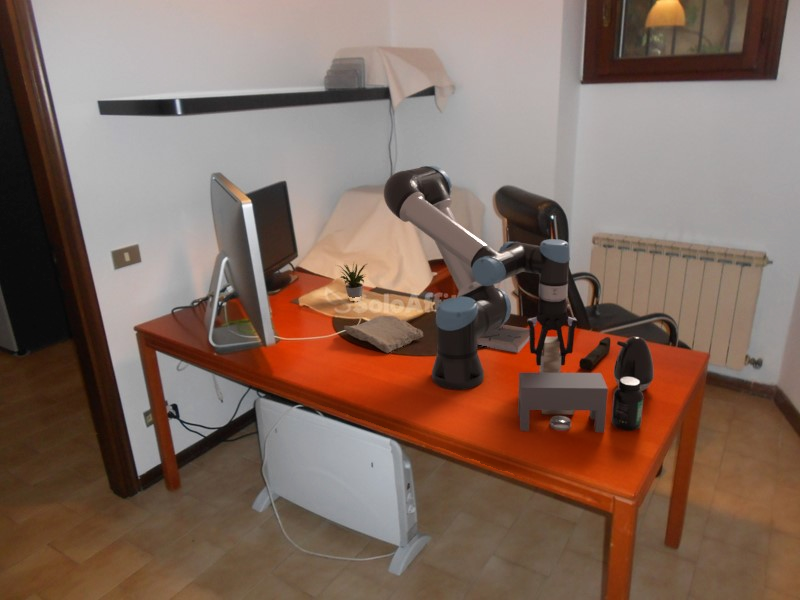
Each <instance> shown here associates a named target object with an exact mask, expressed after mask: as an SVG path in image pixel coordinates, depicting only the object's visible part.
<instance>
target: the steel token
mask: <svg viewBox="0 0 800 600" xmlns="http://www.w3.org/2000/svg"><path fill="white" fill-rule="evenodd" d="M549 426H550V427H551V428H552V429H554V430H556V431H559V432H561V431H562V432H563V431H569V430H570V428H571V427H572V420H571V419H570V418H569V417H567V416H566V415H565V416H564V415H554V416H552V417H550V420H549Z"/></svg>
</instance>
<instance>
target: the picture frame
mask: <svg viewBox="0 0 800 600" xmlns="http://www.w3.org/2000/svg"><path fill="white" fill-rule="evenodd" d="M529 342H530V335H529V328H527V327H520V326H516V325H515V326H514V325H509V324H503V325H501V326H500V327H499V328H497V329H495V330H492V331H490V332H489V333H487V334H485V335H483V336H481V337H479V338H478V339H477V344H478V345H482V346H481V347H483V346H487V347H486V348H489V347H490V348H491V349H494V348H495V350H501V351H506V352H512V353H517V354H519V352H520V351H521V350H522V349H523V348H524V347H525V346H526V345H527V343H529ZM478 345H477V346H478Z"/></svg>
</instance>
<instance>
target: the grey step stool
mask: <svg viewBox="0 0 800 600" xmlns="http://www.w3.org/2000/svg"><path fill="white" fill-rule="evenodd" d="M608 391H609V389H608V386H607V383H606V381H605V379H604V377H603V375H602V373H601V372H561V373H539V372H520V371H519V372H518V401H517V402H518V405H517V406H518V407H517V408H518V409H517V412H518V413H517V414H518V419H519V429H520V431H521V432H529V431H530V411H536V410H538V411H541V410H574V411H589V416H590V420H594V426H593V428H594V431H595V433H605V427H606V415H607V402H608Z"/></svg>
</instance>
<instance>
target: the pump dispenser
mask: <svg viewBox="0 0 800 600" xmlns="http://www.w3.org/2000/svg"><path fill="white" fill-rule="evenodd" d="M616 344H617V346H620V347H621V348H620V350H619V352H618V354H617V356H616V360H615V364H614V369H613V376H614V378H615V383H616V384H617V385H618V384H619V380H620V378H622V377H634V378H637V379H638V380H640V391H641V392H644V391H645V390H647V389H648V387H650V385H651V383H652V381H653V380H654V371H655V370H654V362H653V357H652V353H651V349H650V347H649V345H648V343H647V341H646V340H645V339H644V338H643V337H641V336H638V335H637V336H630V337H629V338H627V339H626V340H625V342H624V341H620V340H617V342H616Z"/></svg>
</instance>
